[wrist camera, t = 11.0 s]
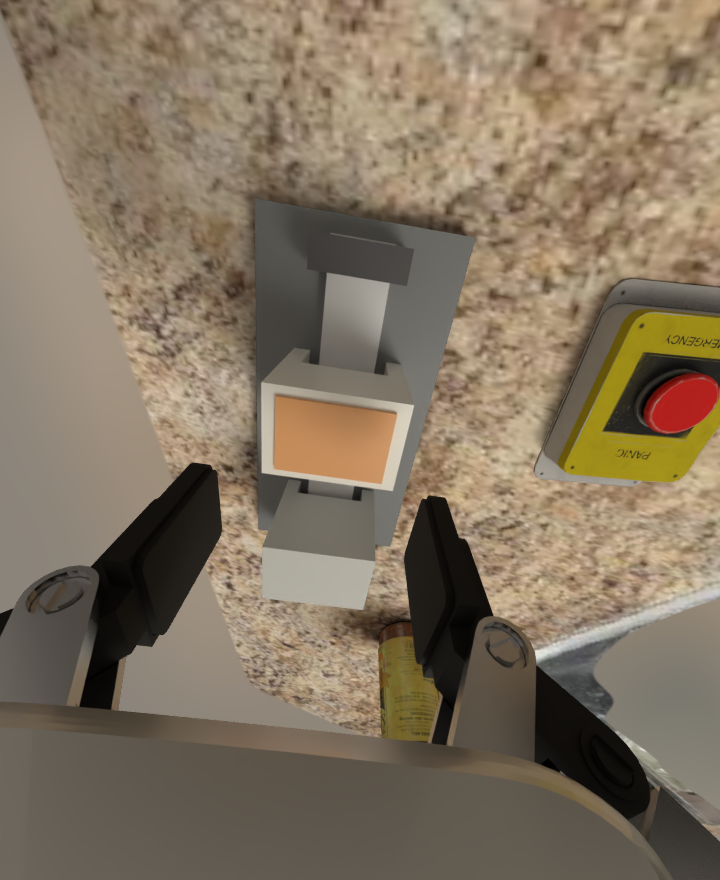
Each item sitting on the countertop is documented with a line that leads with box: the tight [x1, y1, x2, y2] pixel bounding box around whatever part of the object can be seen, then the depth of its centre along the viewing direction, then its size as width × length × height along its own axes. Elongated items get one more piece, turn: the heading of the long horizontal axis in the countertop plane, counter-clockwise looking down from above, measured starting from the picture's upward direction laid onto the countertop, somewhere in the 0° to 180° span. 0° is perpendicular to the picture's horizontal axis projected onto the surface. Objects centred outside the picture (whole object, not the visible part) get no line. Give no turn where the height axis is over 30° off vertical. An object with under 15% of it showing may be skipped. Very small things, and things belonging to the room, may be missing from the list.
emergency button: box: [534, 279, 720, 487], centre depth 21 cm, size 9×4×15 cm
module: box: [261, 348, 414, 491], centre depth 18 cm, size 5×7×7 cm
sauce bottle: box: [378, 622, 440, 743], centre depth 29 cm, size 6×6×20 cm
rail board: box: [255, 198, 475, 610], centre depth 20 cm, size 24×12×8 cm, turn 172°
